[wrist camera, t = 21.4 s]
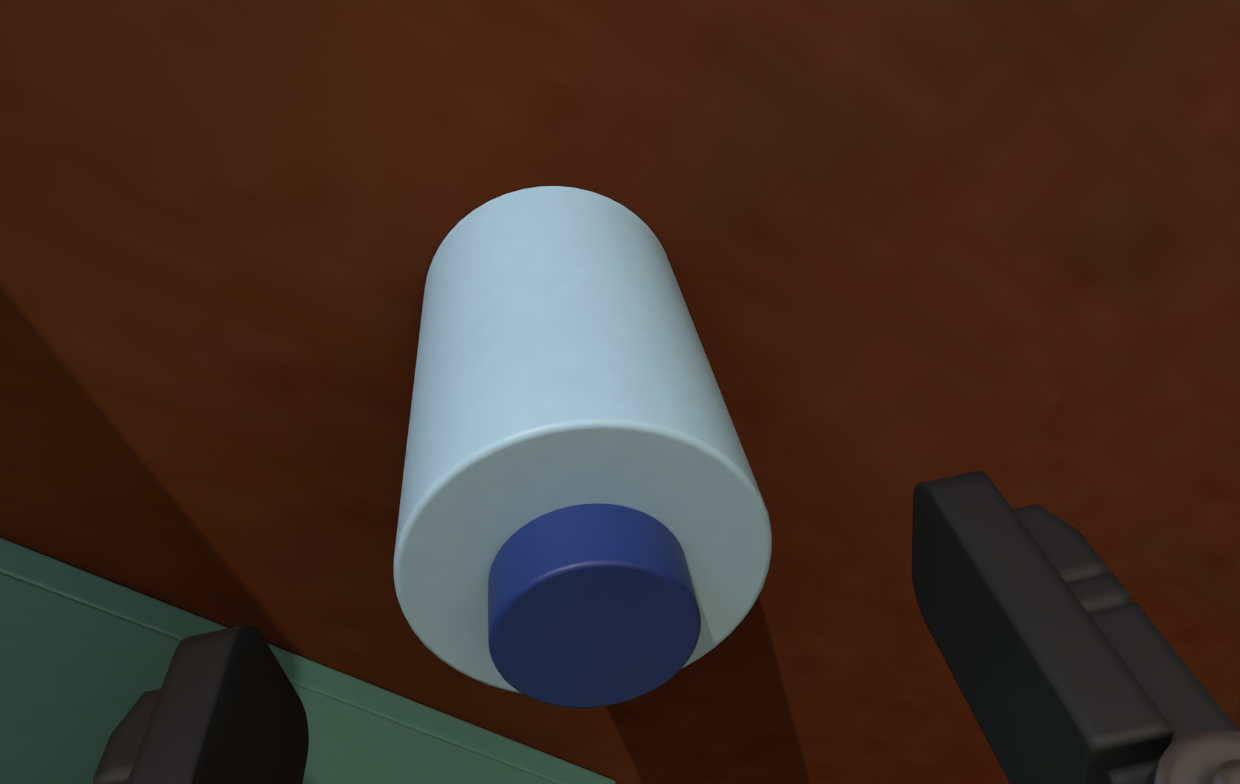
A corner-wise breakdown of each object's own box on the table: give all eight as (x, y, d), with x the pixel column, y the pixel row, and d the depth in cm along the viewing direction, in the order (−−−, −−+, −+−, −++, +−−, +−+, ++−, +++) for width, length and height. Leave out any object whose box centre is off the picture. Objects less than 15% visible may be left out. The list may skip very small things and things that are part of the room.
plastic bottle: (390, 216, 15) (320, 539, 9) (653, 158, 15) (783, 438, 9) (463, 427, 18) (452, 799, 11) (689, 377, 18) (808, 719, 11)
